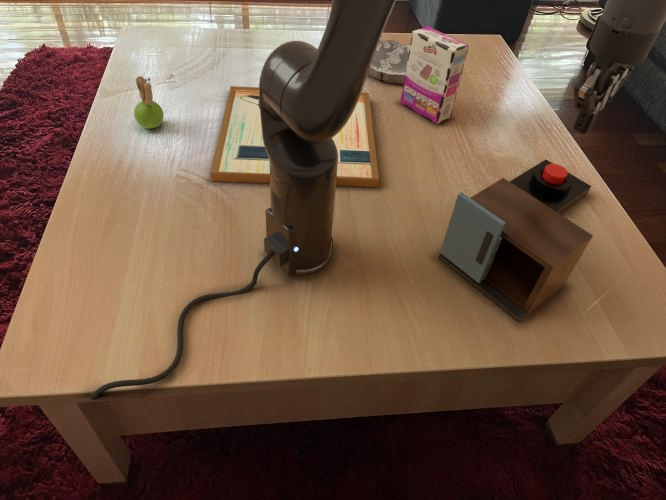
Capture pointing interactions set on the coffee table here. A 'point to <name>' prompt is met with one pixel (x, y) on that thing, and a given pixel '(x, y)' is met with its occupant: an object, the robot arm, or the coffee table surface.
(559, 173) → the button
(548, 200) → the button box
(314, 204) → the robot arm
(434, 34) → the candy bar box
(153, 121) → the snail figurine
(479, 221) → the gray sliding door
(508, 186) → the cabinet
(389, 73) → the grey flat irregular slab
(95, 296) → the coffee table surface
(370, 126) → the picture frame
